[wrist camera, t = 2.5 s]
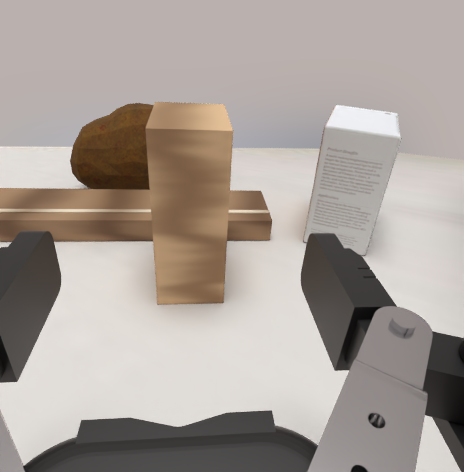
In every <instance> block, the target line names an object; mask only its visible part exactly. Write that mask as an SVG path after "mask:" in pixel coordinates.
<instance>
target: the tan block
mask: <svg viewBox="0 0 464 472" xmlns="http://www.w3.org/2000/svg"><path fill="white" fill-rule="evenodd" d="M145 129H146V144H147V158H148V173H149V187H150V202H151V216H152V231H153V245H154V260H155V274H156V288H157V303H158V304H200V303H223V299H224V282H225V264H226V247H227V229H228V212H229V194H230V177H231V159H232V140H233V129H232V126H231V123H230V120H229V117H228V114H227V111H226V108H225V105H224V104H197V103H169V102H155V104H154V106H153V109H152V112H151V114H150V117H149V120H148V123H147V125H146V128H145Z"/></svg>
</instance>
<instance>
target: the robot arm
mask: <svg viewBox="0 0 464 472" xmlns="http://www.w3.org/2000/svg"><path fill="white" fill-rule="evenodd" d="M60 286H61V272H60V268H59V263H58V259H57V254H56V250H55V245H54V240H53V237H52V234H51V233H50V232H49V231H21V232H19V234H18V235H17V236H16V237H15V239H14V240H13V241H12V243H11V244H10V245H9V246H8V247H1V248H0V383H1V382H17V381H18V379H19V377H20V375H21V373H22V371H23V369H24V366H25V364H26V362H27V360H28V358H29V356H30V354H31V351H32V349H33V347H34V345H35V343H36V341H37V339H38V337H39V334H40V332H41V330H42V328H43V326H44V324H45V322H46V319H47V317H48V315H49V313H50V311H51V309H52V307H53V304H54V302H55V300H56V298H57V296H58V294H59V291H60ZM301 286H302V290H303V293H304V295H305V298H306V300H307V303H308V305H309V308H310V310H311V313H312V315H313V318H314V320H315V323H316V325H317V328H318V330H319V333H320V335H321V338H322V340H323V342H324V345H325V347H326V350H327V352H328V355H329V357H330V360H331V362H332V365H333V367H334V370H335V371H337V370H349V373H348V375H347V378H346V380H345V383H344V385H343V387H342V390H341V392H340V395H339V397H338V399H337V402H336V404H335V407H334V409H333V411H332V414H331V416H330V419H329V421H328V423H327V426H326V428H325V431H324V433H323V435H322V438H321V440H320V443H319V445H316V444H315V443H314V442H312V441H311V440H309V439H308V438H306V437H304V436H303V435H300V434H298V433H296V432H294V431H292V430H289V429H286V428H283V427H279V426H275V424H274V419H273V414H272V411H252V412H233V413H225V414H222V415H218V416H215V417H212V418H209V419H205V420H202V421H199V422H196V423H192V424H189V425H186V426H182V427H173V426H169V425H164V424H159V423H154V422H149V421H144V420H139V419H134V418H117V419H97V420H81V424H80V427H79V431H78V435H77V437H75V438H72V439H69V440H66V441H64V442H62V443H59V444H57V445H55V446H53V447H51V448H50V449H48V450H46V451H44V452H43V453H41V454H40V455H38V456H37V457H35V458H33V459H32V460H31V461H30V462H28V463H27V464H26V465H23V463H22V461H21V458H20V456H19V454H18V451H17V449H16V446H15V444H14V442H13V439H12V437H11V435H10V432H9V430H8V427H7V425H6V423H5V420H4V418H3V416H2V413H1V411H0V472H415V469H416V463H417V457H418V451H419V445H420V440H421V434H422V428H423V422H424V416H425V415H427V416H431V417H432V418H433V419H434V421H435V423H436V425H437V427H438V429H439V431H440V432H441V434H442V436H443V438H444V440H445V442H446V444H447V446H448V447H449V449H450V451H451V453H452V455H453V457H454V459H455V461H456V462H457V464H458V466H459V468H460V470H461V472H464V338H460V337H455V336H451V335H446V334H441V333H437V332H433V331H432V330H431V328H430V326H429V325H428V323H427V322H426V321H425V320H424V319H423V318H421V317H420V316H419V315H417V314H415V313H414V312H412V311H409V310H407V309H404V308H400V307H397V306H396V304H395V303H394V302H393V300H392V299H391V297H390V296H389V295H388V293H387V292H386V290H385V289H384V287H383V286H382V285H381V283H380V282H379V280H378V279H376V276H375V275H374V273H373V272H372V270H370V267H369V266H368V265H367V263H366V262H365V260H364V259H363V257H361V256H360V255H359V254H357V253H356V252H354V251H353V250H352V249H350V248H344V247H343V245H342V244H341V242H340V241H339V239H338V238H337V236H336V235H335V234H334V233H311V234H310V235H309V237H308V241H307V246H306V251H305V256H304V261H303V266H302V271H301Z"/></svg>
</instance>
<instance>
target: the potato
mask: <svg viewBox="0 0 464 472" xmlns="http://www.w3.org/2000/svg"><path fill="white" fill-rule="evenodd" d="M153 106H154V105H149V104H141V103H135V104H127V105H125V106H123V107H120V108H118V109H116V110H115V111H114V112H113V113H111V114H110V115H107V116H105V117H102V118H99V119H96V120H94V121H92V122H90V123H89V124H87V125H86V126H84V127H82V129H81V131H80V133H79V135H78V137H77V139H76V141H75V143H74V145H73V150H72V155H71V160H70V162H71V167H72V173H73V174H74V176H75V177H76V178H77V180H78V181H80V182H81V183H83V184H84V185H86V186H87V187H89V188H91V189H127V190H150V187H149V173H148V158H147V144H146V129H145V128H146V125H147V123H148V120H149V117H150V114H151V112H152V109H153Z"/></svg>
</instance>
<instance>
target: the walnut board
mask: <svg viewBox="0 0 464 472" xmlns="http://www.w3.org/2000/svg"><path fill="white" fill-rule="evenodd" d="M271 226H272V219H271V216H270V212H269V210H268V208H267V206H266V203H265V200H264V198H263V195H262V192H261V191H230V194H229V212H228V229H227V240H270V233H271ZM21 231H49V232H50V233H51V234H52V237H53V240H54V241H153V231H152V216H151V202H150V190H127V189H32V188H0V241H13V240H14V239H15V237H16V236H17V235H18V234H19V232H21Z"/></svg>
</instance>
